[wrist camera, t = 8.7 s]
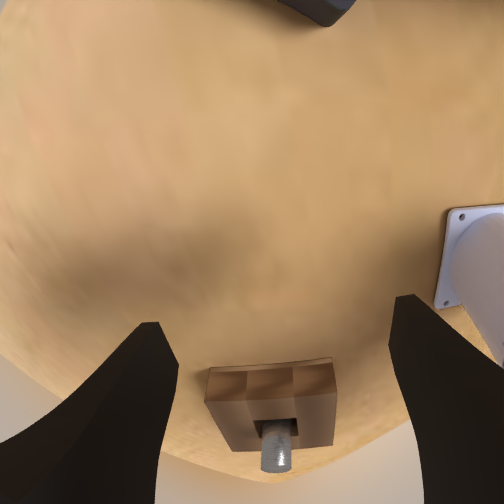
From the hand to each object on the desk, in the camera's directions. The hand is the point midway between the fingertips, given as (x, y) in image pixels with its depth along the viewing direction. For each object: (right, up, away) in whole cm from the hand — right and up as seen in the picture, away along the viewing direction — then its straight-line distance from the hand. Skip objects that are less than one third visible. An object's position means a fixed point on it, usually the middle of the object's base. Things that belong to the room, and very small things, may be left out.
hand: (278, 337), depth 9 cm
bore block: (+2, -11, +18) cm, 21 cm away
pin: (+1, -11, +17) cm, 20 cm away
